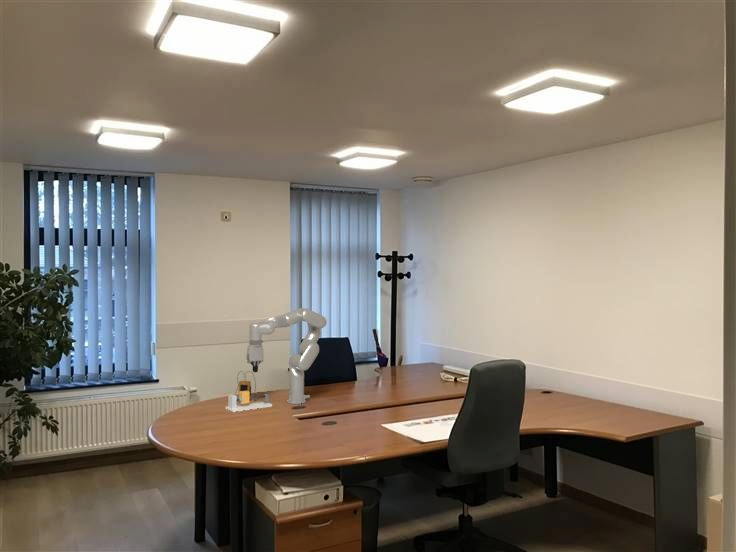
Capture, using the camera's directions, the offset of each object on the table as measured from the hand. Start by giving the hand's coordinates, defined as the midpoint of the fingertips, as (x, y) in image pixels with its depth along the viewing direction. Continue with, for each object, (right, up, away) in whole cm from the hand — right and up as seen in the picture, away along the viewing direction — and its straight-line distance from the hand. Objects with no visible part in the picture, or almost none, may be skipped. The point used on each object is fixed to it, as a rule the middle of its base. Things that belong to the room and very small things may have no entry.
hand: (255, 371), depth 366 cm
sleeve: (-6, -19, -4) cm, 20 cm away
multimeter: (-10, -22, +20) cm, 32 cm away
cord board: (-4, -22, -2) cm, 23 cm away
